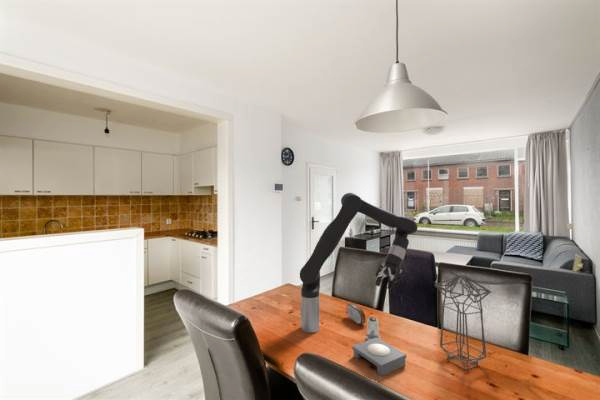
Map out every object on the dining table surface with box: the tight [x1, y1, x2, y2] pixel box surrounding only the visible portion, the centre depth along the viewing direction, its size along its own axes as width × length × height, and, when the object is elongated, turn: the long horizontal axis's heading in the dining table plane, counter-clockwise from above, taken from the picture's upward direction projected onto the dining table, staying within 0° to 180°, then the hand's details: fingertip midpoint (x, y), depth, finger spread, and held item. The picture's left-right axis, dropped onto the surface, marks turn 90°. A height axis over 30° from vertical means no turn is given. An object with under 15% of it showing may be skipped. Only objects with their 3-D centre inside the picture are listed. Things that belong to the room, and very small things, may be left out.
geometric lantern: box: [434, 274, 493, 371], centre depth 109 cm, size 16×16×35 cm
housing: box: [365, 316, 381, 341], centre depth 128 cm, size 7×7×10 cm
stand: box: [351, 338, 407, 377], centre depth 111 cm, size 16×14×4 cm
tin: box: [346, 302, 367, 325], centre depth 148 cm, size 15×3×8 cm, turn 22°
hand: (383, 287), depth 127 cm, fingers open, 8 cm apart
